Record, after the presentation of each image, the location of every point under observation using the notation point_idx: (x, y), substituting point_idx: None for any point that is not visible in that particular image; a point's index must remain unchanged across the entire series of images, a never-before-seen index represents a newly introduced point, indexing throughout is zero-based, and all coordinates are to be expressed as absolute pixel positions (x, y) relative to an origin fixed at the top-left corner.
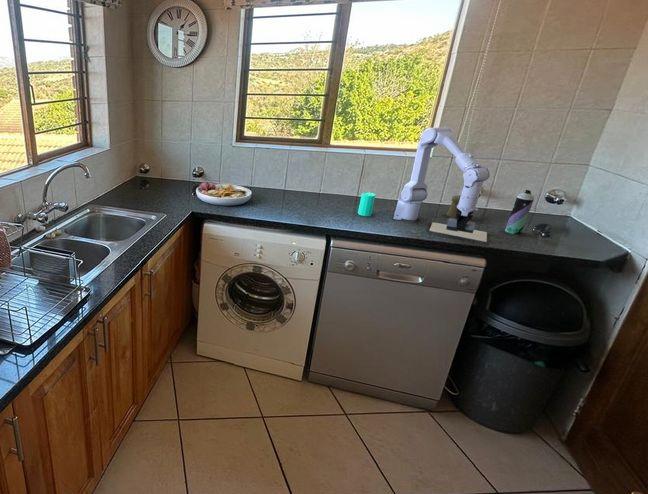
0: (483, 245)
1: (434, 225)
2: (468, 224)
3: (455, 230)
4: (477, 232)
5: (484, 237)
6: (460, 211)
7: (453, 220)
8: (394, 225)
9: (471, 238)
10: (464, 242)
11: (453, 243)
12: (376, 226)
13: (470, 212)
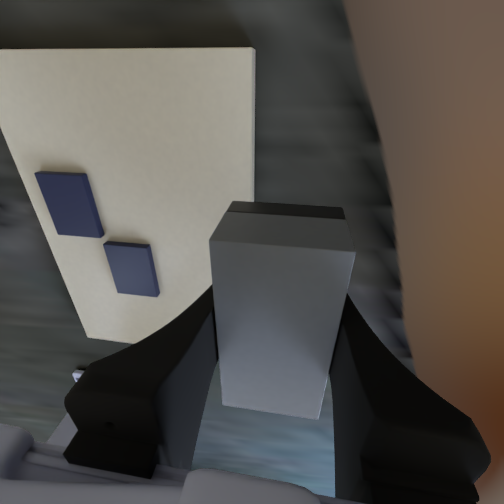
0: (309, 69)
1: (138, 335)
2: (341, 305)
3: (149, 256)
4: (49, 123)
5: (135, 68)
6: (185, 455)
7: (284, 393)
8: (246, 434)
9: (244, 167)
10: (317, 200)
11: (381, 259)
12: (306, 472)
13: (165, 402)
